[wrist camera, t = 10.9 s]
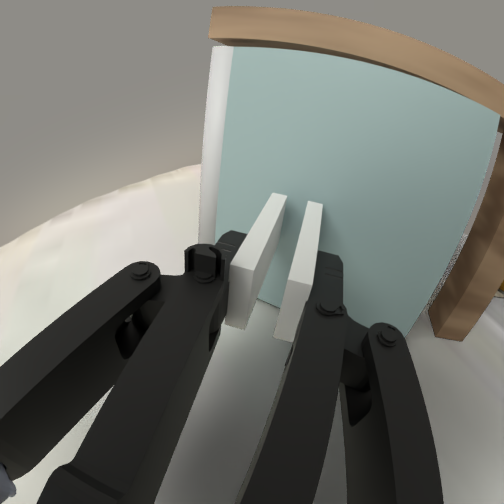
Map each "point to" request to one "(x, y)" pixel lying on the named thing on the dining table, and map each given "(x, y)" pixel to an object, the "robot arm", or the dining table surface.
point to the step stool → (421, 66)
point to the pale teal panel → (344, 170)
